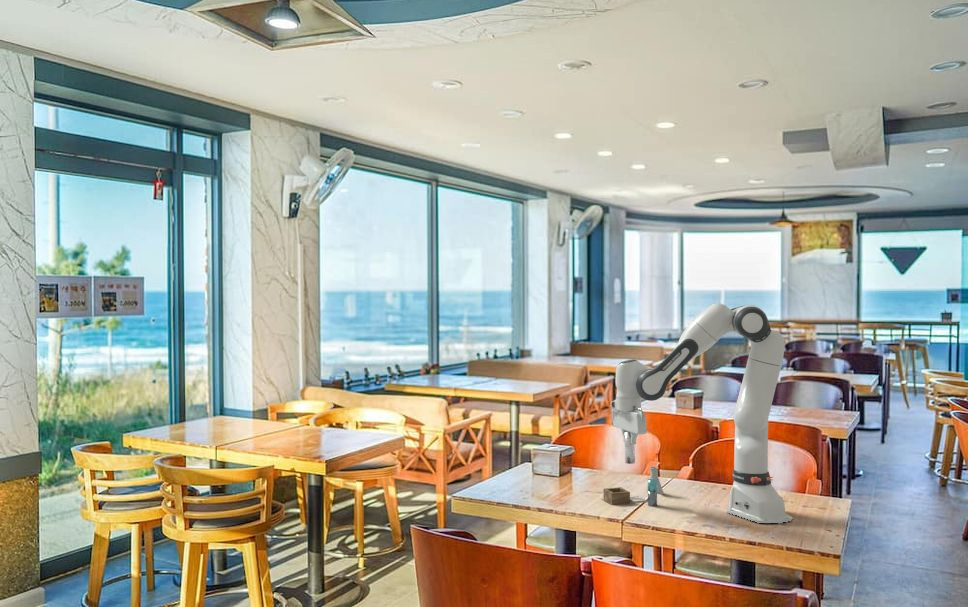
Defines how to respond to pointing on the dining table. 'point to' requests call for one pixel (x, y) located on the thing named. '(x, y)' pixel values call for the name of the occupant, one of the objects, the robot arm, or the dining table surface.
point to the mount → (620, 497)
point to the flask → (655, 476)
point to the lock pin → (629, 449)
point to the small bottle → (652, 492)
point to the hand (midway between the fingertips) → (629, 443)
